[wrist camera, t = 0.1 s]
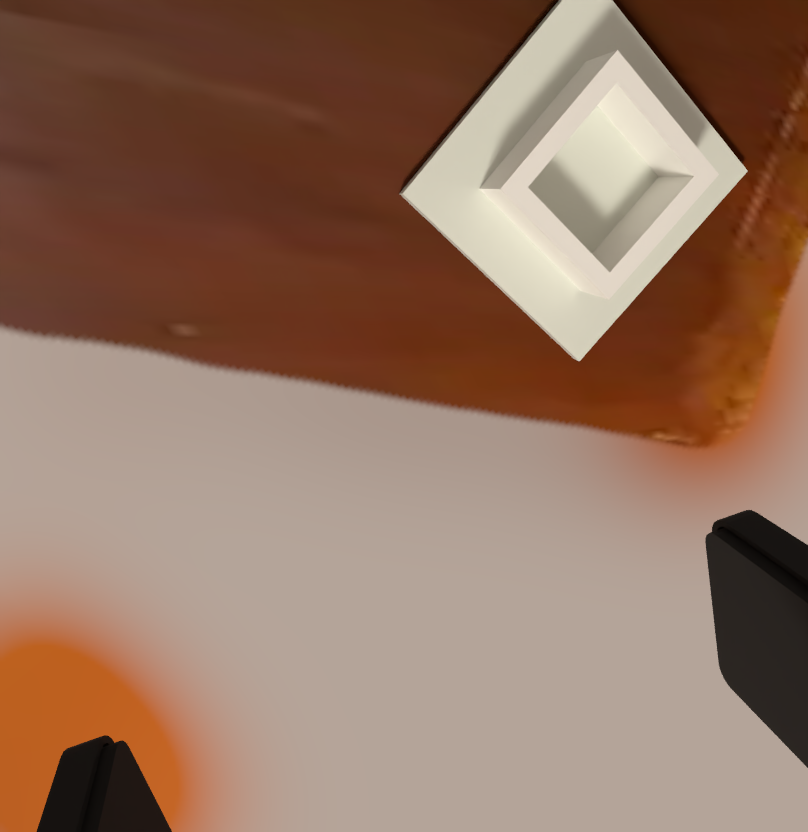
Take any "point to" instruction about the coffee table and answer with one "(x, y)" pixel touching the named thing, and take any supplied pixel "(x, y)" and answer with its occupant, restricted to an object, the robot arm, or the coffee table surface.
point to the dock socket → (576, 173)
